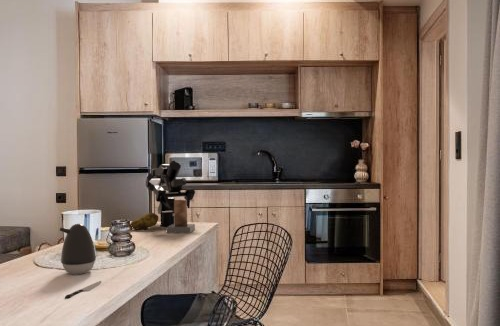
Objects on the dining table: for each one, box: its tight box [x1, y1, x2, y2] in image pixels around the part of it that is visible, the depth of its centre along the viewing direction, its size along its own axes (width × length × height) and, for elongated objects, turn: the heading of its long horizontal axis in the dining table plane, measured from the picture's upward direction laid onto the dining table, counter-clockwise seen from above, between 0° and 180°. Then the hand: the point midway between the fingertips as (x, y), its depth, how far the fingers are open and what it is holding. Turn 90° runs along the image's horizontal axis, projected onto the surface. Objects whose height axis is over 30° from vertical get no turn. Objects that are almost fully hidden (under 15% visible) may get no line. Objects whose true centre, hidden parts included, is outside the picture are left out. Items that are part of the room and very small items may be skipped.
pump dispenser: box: [59, 223, 97, 275], centre depth 151 cm, size 10×10×15 cm
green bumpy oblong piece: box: [130, 212, 159, 230], centre depth 237 cm, size 8×13×8 cm, turn 80°
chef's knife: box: [64, 280, 102, 299], centre depth 132 cm, size 19×1×3 cm
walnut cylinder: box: [174, 199, 188, 226], centre depth 230 cm, size 6×6×12 cm
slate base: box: [166, 223, 196, 234], centre depth 230 cm, size 11×11×2 cm
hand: (179, 208), depth 231 cm, fingers open, 9 cm apart
